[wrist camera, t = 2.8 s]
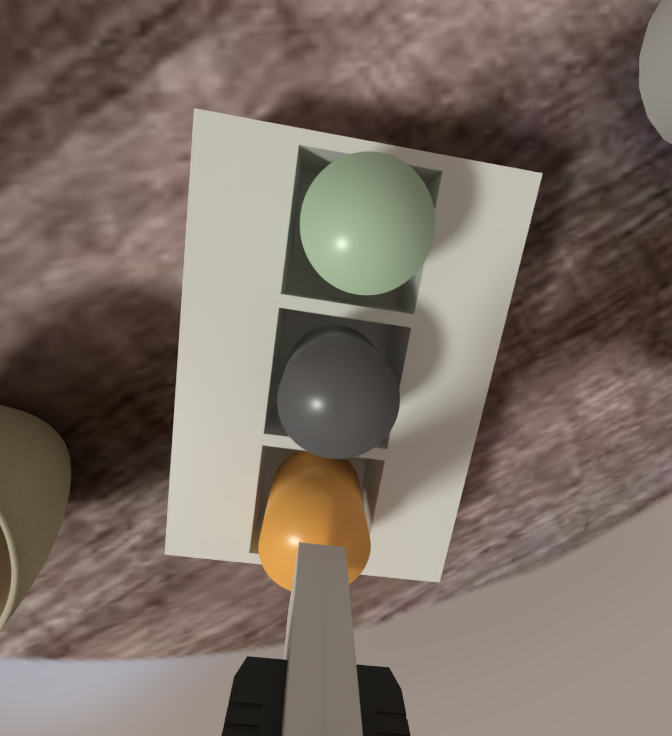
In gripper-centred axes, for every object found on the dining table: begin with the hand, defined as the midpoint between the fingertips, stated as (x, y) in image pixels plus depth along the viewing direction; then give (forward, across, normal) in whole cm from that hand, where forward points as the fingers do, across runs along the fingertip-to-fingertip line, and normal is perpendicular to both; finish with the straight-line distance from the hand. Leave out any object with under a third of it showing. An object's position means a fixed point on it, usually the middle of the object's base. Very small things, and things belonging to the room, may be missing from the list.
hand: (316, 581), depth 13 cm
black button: (+5, 0, +6) cm, 8 cm away
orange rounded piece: (+5, 0, 0) cm, 5 cm away
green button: (+5, 0, +11) cm, 12 cm away
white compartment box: (+8, 0, +6) cm, 10 cm away
